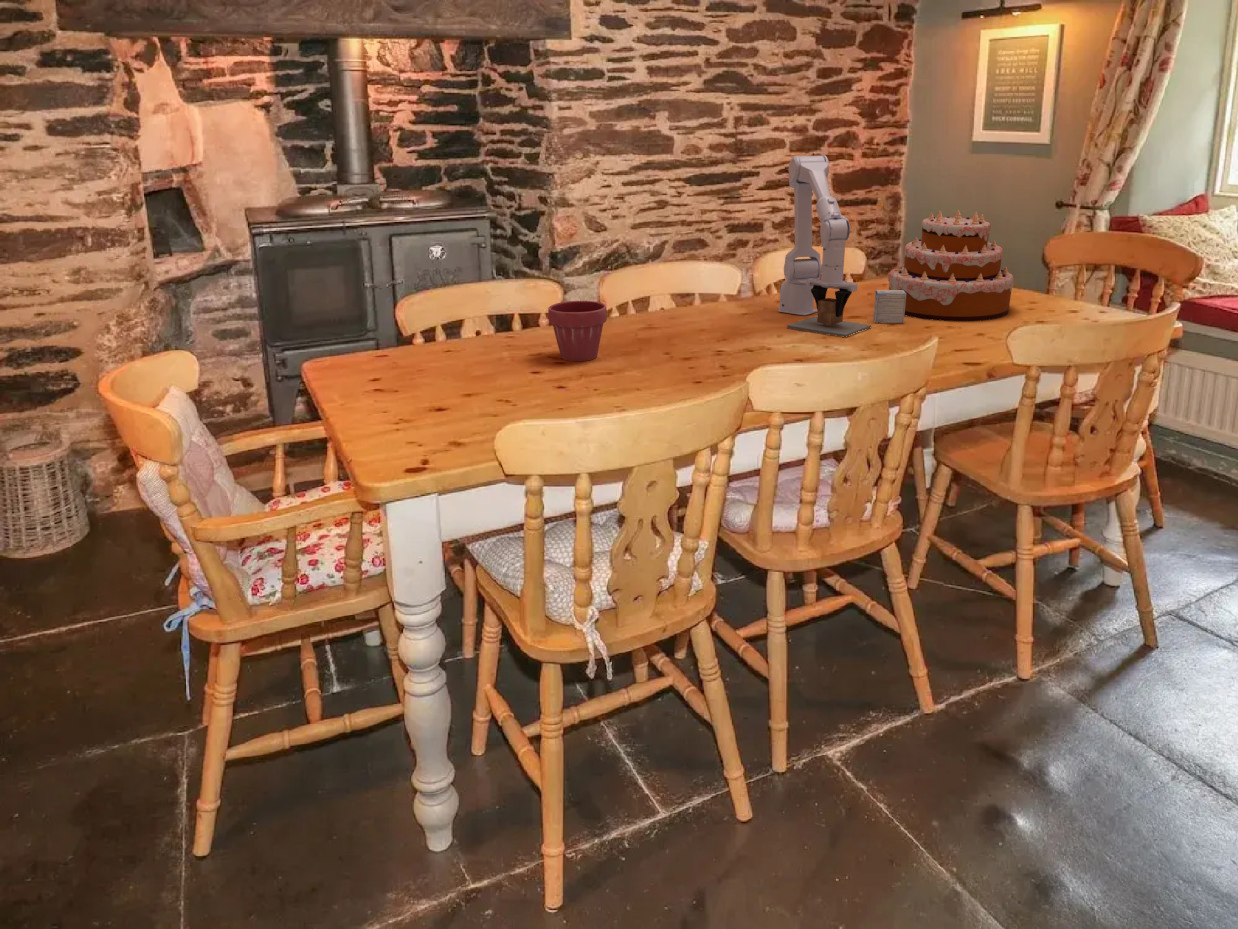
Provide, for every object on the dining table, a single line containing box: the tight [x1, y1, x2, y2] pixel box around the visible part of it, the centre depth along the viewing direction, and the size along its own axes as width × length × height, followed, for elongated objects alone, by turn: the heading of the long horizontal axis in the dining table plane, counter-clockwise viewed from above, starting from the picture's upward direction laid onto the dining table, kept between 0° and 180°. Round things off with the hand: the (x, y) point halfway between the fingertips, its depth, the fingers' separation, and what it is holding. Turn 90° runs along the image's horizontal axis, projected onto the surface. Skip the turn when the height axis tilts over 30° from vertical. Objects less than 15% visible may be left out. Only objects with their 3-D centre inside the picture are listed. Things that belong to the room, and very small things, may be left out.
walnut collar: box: [816, 297, 844, 325], centre depth 274 cm, size 5×5×6 cm
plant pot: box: [547, 300, 608, 362], centre depth 248 cm, size 14×14×13 cm
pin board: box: [786, 316, 872, 338], centre depth 275 cm, size 18×14×4 cm
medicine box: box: [873, 289, 906, 324], centre depth 280 cm, size 8×4×9 cm, turn 84°
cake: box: [887, 209, 1015, 322], centre depth 292 cm, size 35×35×28 cm
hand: (829, 314), depth 274 cm, fingers closed on walnut collar, 5 cm apart
